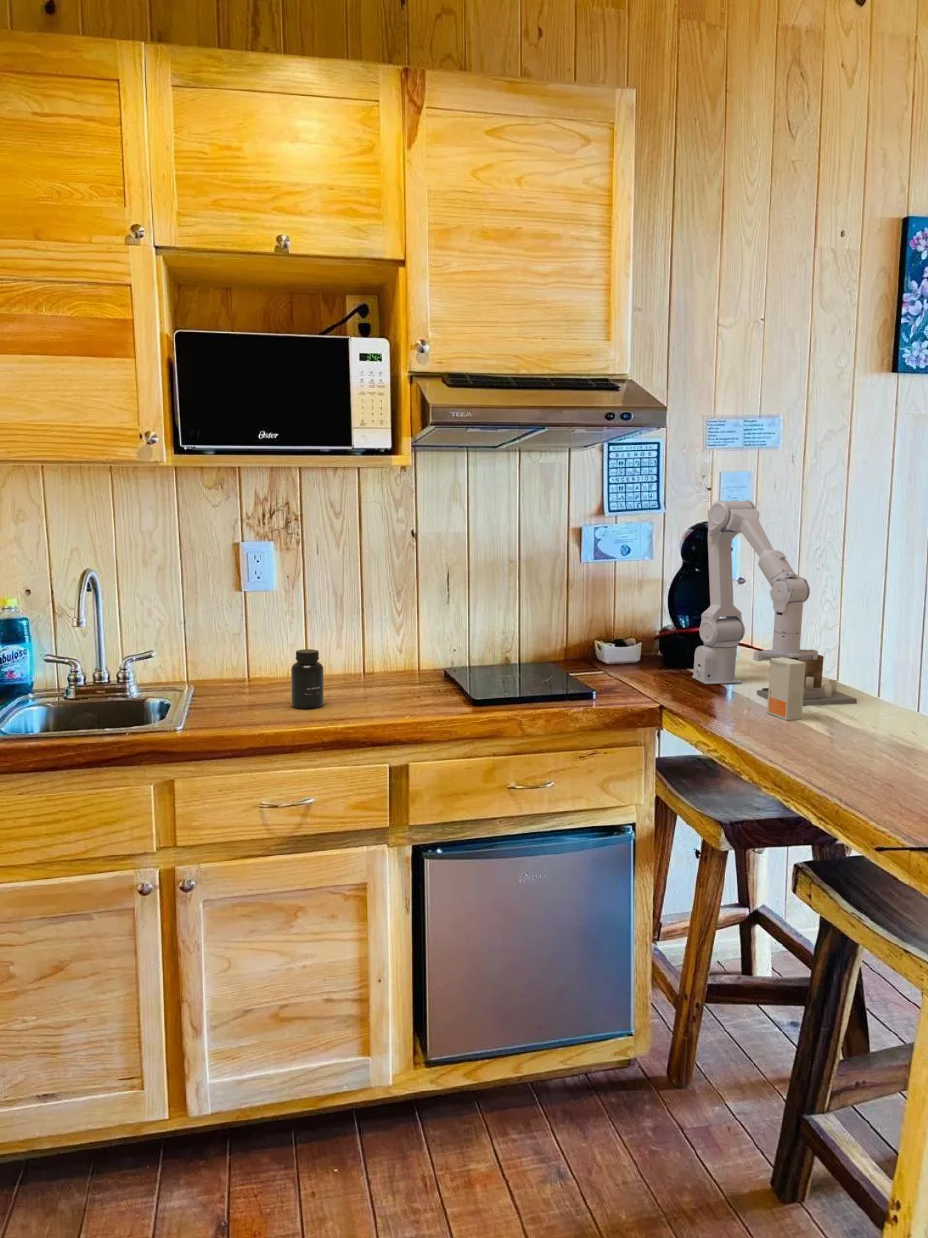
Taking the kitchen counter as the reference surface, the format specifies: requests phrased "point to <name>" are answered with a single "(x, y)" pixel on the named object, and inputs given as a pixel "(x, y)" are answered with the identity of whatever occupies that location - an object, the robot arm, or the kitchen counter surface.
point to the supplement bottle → (307, 680)
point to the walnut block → (814, 670)
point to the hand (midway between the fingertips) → (783, 691)
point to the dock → (819, 694)
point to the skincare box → (786, 688)
